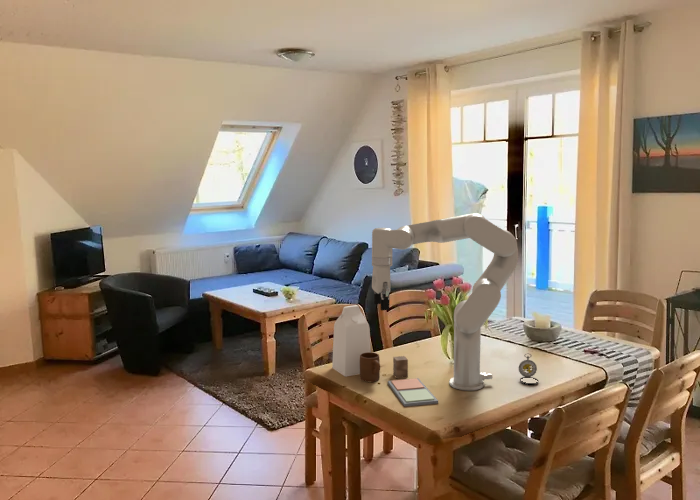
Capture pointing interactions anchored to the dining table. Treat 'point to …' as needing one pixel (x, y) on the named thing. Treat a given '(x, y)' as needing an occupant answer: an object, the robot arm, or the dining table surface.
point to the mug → (369, 367)
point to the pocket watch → (527, 369)
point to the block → (400, 367)
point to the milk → (350, 341)
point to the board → (412, 392)
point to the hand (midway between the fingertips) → (381, 306)
